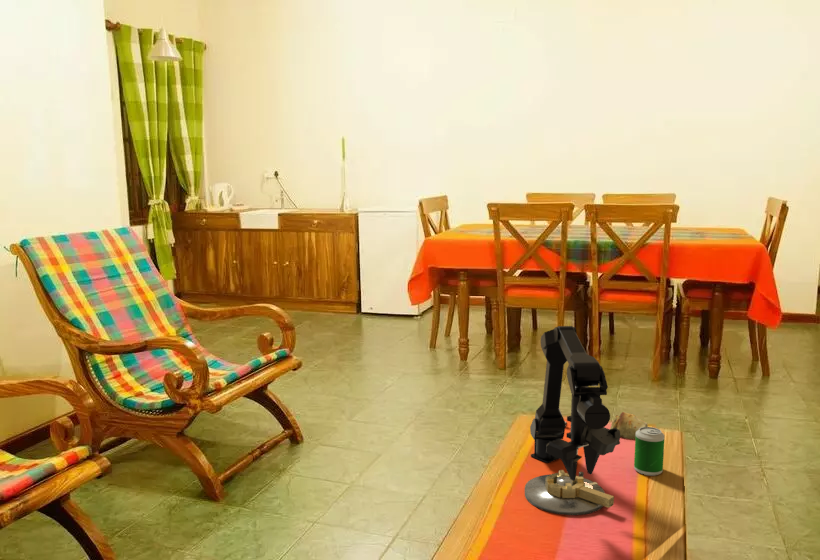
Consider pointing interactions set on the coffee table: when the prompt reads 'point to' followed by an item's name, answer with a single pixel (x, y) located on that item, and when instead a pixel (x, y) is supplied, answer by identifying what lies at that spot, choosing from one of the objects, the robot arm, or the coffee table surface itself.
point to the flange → (559, 505)
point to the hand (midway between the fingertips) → (581, 476)
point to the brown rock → (628, 425)
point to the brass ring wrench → (576, 490)
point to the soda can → (649, 451)
